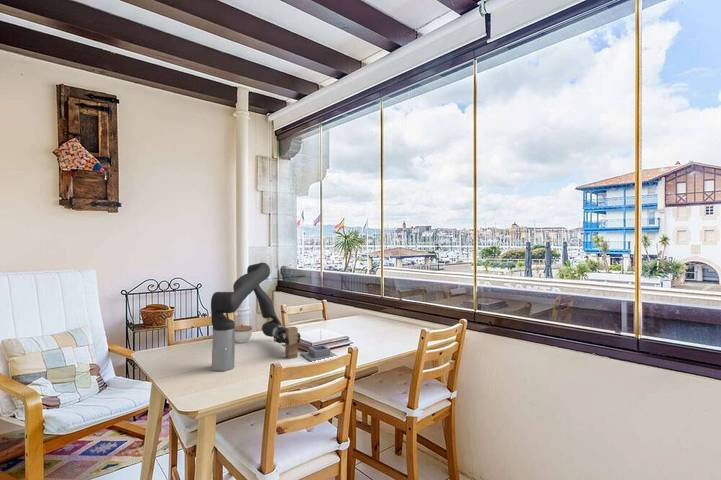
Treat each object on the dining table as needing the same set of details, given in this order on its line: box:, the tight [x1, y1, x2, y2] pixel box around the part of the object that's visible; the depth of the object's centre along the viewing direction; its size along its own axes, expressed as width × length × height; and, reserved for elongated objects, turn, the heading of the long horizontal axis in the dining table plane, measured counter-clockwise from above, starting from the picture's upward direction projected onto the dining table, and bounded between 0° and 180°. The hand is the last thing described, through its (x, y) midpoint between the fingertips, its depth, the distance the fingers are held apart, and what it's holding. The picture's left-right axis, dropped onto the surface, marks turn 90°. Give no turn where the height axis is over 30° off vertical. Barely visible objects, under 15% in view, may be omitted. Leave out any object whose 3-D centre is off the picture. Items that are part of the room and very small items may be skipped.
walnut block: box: [284, 326, 299, 360], centre depth 187 cm, size 4×4×14 cm
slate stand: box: [299, 344, 338, 363], centre depth 189 cm, size 14×14×4 cm
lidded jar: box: [235, 323, 253, 344], centre depth 214 cm, size 11×11×9 cm
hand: (293, 341), depth 185 cm, fingers closed on walnut block, 4 cm apart
